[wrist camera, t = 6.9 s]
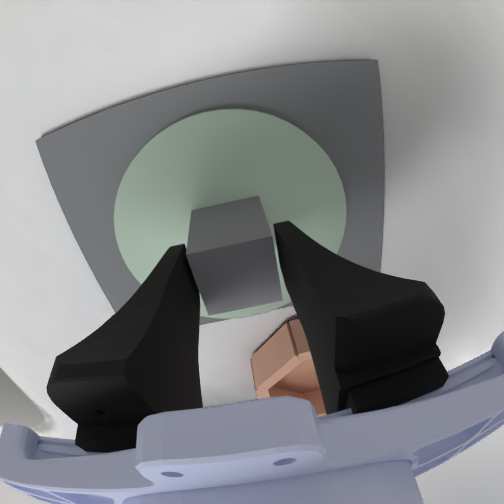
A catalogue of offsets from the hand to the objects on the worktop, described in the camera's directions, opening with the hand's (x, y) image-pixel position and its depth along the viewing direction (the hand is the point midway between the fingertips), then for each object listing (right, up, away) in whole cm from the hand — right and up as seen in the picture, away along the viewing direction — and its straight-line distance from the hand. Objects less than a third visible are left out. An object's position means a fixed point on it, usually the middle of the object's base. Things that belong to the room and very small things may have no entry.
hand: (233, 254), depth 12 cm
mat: (0, +2, +3) cm, 4 cm away
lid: (0, +1, +3) cm, 3 cm away
